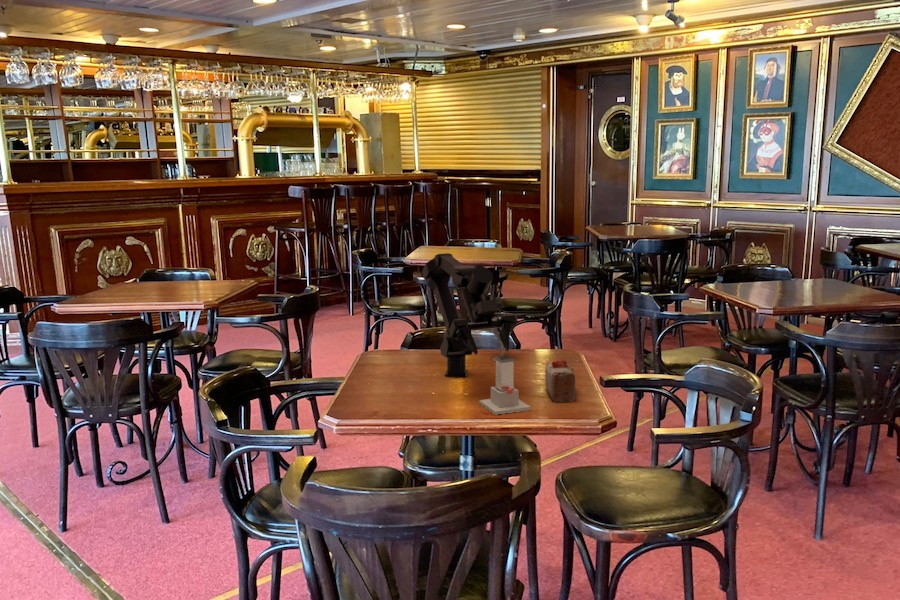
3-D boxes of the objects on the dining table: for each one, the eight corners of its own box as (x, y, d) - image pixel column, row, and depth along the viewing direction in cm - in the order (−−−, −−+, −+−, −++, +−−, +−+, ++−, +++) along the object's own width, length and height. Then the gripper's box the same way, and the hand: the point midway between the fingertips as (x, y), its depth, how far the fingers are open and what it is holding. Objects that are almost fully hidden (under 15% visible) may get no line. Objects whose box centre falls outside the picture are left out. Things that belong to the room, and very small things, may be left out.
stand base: (479, 403, 192) (479, 383, 191) (513, 399, 195) (513, 378, 194) (495, 415, 183) (495, 393, 182) (530, 410, 186) (530, 388, 185)
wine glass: (485, 358, 239) (485, 314, 236) (505, 355, 242) (505, 311, 240) (497, 363, 232) (497, 318, 229) (518, 360, 235) (518, 315, 233)
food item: (542, 388, 205) (542, 354, 204) (570, 387, 206) (570, 354, 204) (550, 403, 192) (550, 367, 190) (579, 402, 192) (580, 366, 190)
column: (494, 402, 190) (494, 356, 188) (507, 400, 191) (508, 354, 189) (500, 406, 186) (500, 360, 184) (514, 404, 188) (514, 358, 185)
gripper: (452, 290, 192) (468, 338, 184) (515, 285, 199) (533, 332, 190) (442, 314, 201) (457, 361, 192) (502, 308, 207) (519, 354, 199)
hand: (492, 351), depth 193 cm, fingers open, 9 cm apart
